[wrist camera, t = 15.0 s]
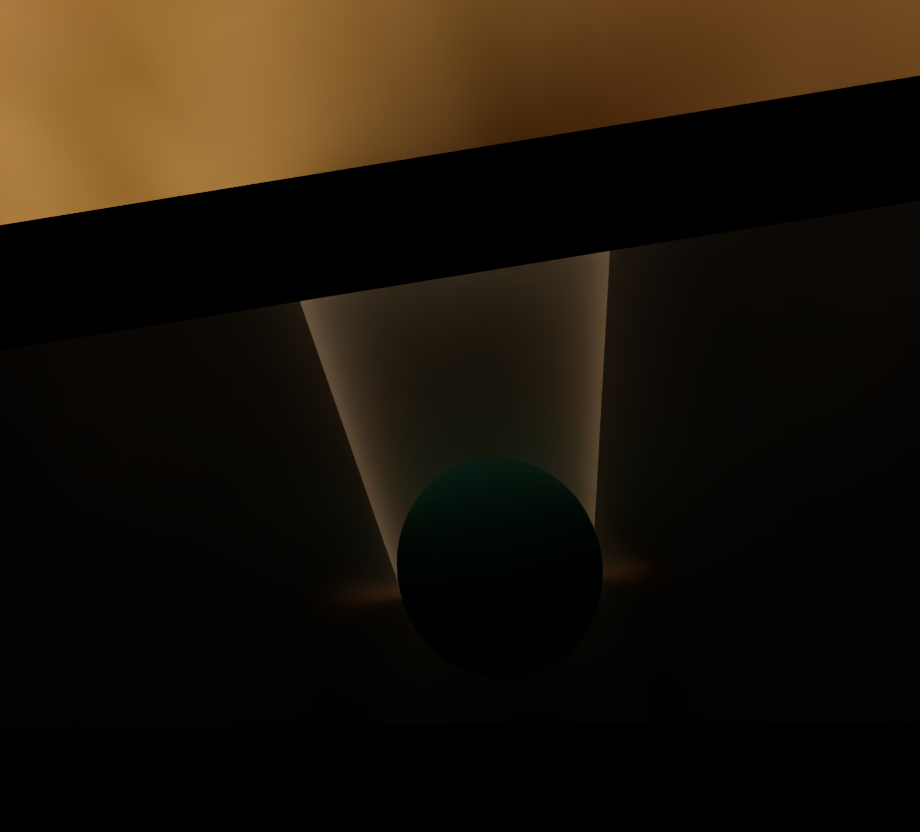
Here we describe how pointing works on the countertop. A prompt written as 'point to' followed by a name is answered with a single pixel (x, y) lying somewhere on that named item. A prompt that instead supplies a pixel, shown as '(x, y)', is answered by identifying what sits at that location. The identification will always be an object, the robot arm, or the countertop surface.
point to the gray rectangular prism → (358, 535)
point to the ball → (499, 568)
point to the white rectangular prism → (468, 377)
